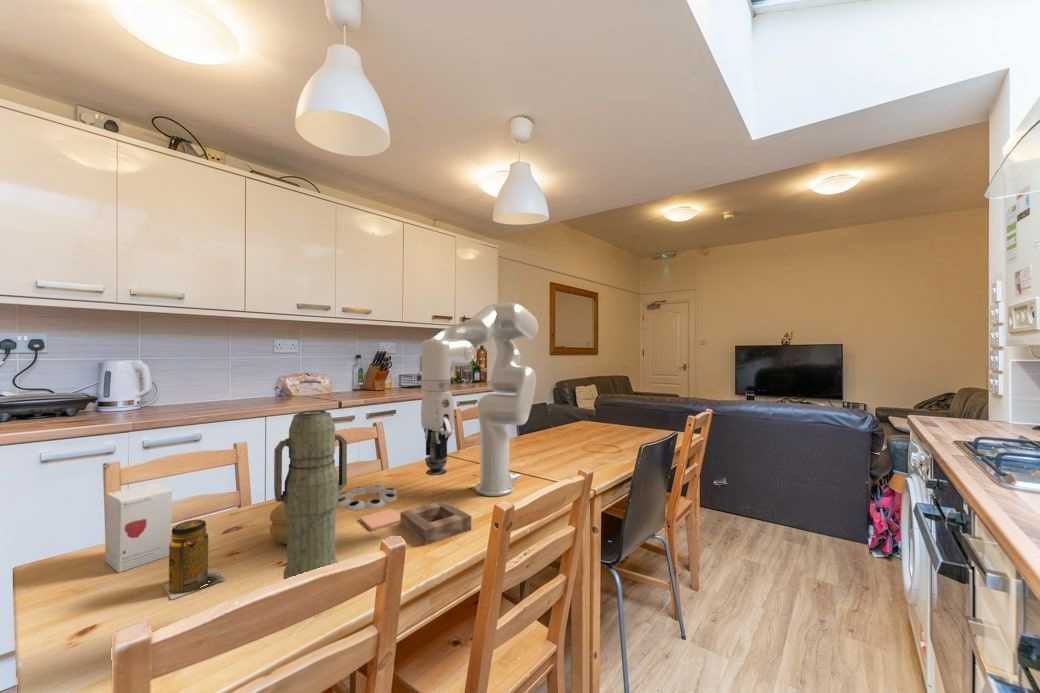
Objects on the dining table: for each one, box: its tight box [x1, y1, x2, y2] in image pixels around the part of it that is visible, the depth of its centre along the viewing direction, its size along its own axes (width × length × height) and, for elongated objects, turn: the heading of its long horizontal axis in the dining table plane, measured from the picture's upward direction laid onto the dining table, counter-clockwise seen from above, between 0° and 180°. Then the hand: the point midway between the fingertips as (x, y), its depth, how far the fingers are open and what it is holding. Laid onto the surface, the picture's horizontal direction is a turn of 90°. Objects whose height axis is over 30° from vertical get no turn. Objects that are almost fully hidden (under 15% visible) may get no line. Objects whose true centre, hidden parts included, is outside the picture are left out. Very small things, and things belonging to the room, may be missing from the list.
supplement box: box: [104, 482, 173, 573], centre depth 91 cm, size 9×9×15 cm
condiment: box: [162, 519, 226, 600], centre depth 82 cm, size 7×8×12 cm
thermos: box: [273, 409, 348, 580], centre depth 75 cm, size 9×12×35 cm
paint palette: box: [337, 484, 399, 511], centre depth 128 cm, size 20×20×2 cm
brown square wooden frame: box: [399, 500, 472, 546], centre depth 107 cm, size 13×14×4 cm
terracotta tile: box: [359, 508, 400, 532], centre depth 111 cm, size 9×9×1 cm
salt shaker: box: [424, 431, 448, 476], centre depth 107 cm, size 6×6×12 cm
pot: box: [269, 502, 287, 545], centre depth 101 cm, size 12×12×10 cm
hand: (436, 455), depth 107 cm, fingers closed on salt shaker, 4 cm apart
